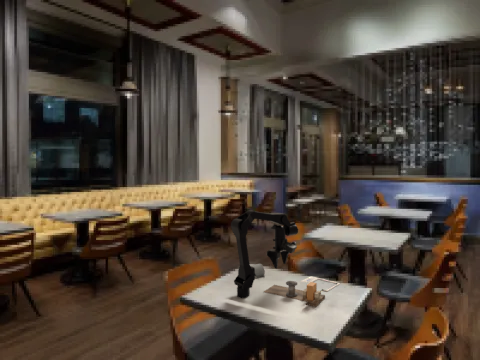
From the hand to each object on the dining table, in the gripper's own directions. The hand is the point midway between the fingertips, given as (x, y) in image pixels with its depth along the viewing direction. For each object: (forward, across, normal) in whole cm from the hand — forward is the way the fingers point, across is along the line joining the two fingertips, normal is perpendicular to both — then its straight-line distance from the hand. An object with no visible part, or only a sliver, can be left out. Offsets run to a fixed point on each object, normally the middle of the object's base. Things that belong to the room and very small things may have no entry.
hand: (280, 266), depth 182 cm
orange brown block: (+10, -7, -21) cm, 24 cm away
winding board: (+12, -6, -11) cm, 17 cm away
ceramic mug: (+12, +7, +19) cm, 23 cm away
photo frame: (+12, +17, -14) cm, 25 cm away
